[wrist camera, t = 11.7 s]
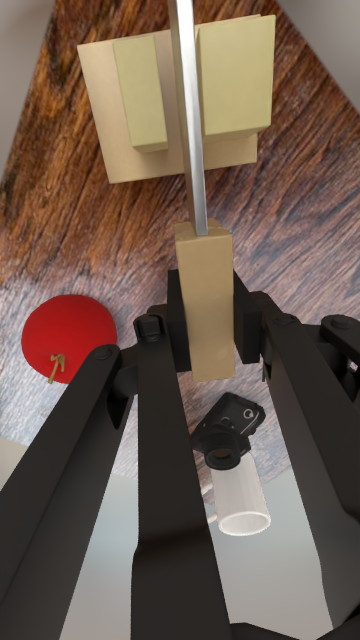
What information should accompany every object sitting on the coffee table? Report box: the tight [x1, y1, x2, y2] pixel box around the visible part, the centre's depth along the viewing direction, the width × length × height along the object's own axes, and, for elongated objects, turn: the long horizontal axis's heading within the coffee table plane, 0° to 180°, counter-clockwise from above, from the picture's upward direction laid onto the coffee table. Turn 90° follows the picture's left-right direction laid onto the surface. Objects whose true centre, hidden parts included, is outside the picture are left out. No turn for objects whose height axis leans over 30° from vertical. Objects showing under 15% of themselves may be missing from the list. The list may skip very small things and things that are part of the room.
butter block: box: [196, 15, 276, 144], centre depth 14 cm, size 4×4×4 cm
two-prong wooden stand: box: [77, 14, 260, 184], centre depth 18 cm, size 10×7×6 cm, turn 97°
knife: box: [167, 0, 235, 382], centre depth 11 cm, size 20×2×5 cm, turn 7°
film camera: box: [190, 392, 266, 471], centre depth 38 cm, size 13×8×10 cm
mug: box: [201, 452, 271, 536], centre depth 42 cm, size 8×12×10 cm
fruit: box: [21, 294, 117, 384], centre depth 25 cm, size 9×9×10 cm
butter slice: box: [112, 36, 168, 153], centre depth 14 cm, size 2×4×4 cm, turn 7°
